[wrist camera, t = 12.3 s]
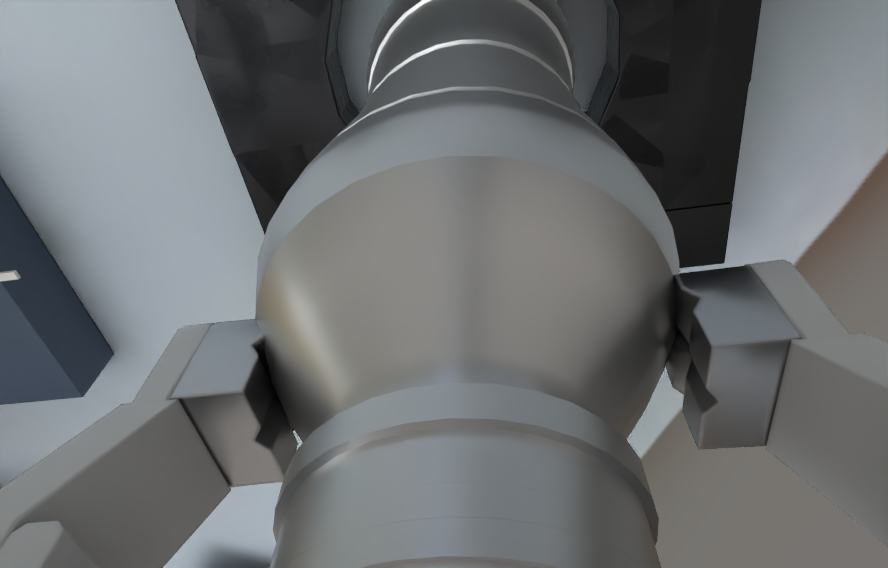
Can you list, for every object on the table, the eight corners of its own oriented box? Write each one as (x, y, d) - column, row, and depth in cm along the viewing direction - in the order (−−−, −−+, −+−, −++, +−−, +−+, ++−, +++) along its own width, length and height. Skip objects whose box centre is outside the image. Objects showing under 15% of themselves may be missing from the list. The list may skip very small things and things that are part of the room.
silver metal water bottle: (599, 66, 21) (1016, 739, 5) (451, 174, 24) (410, 841, 8) (493, -100, 18) (655, 197, 2) (339, 42, 21) (-107, 654, 5)
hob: (120, -221, 17) (83, -231, 15) (779, -370, 15) (817, -398, 13) (302, 284, 27) (292, 310, 26) (708, 238, 25) (725, 264, 24)
